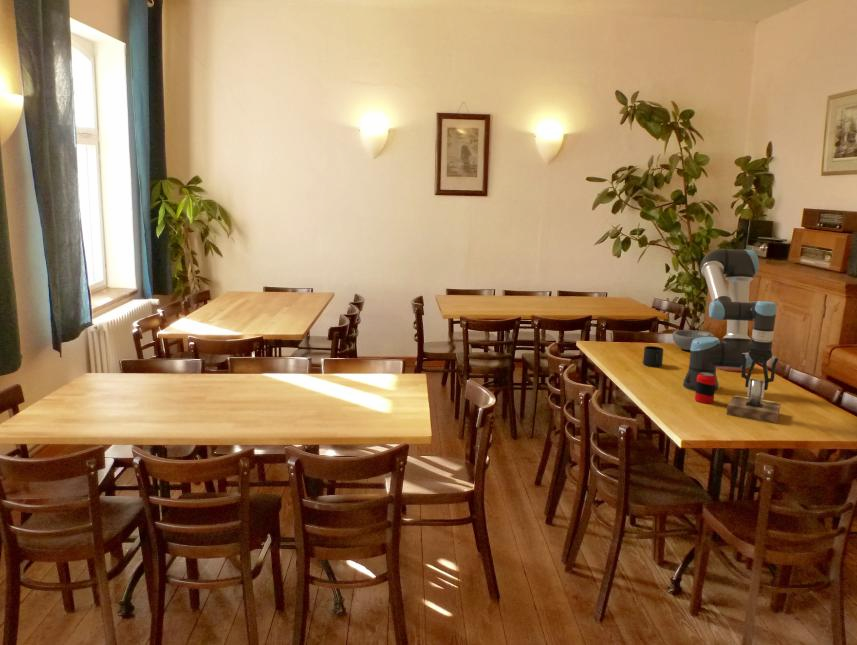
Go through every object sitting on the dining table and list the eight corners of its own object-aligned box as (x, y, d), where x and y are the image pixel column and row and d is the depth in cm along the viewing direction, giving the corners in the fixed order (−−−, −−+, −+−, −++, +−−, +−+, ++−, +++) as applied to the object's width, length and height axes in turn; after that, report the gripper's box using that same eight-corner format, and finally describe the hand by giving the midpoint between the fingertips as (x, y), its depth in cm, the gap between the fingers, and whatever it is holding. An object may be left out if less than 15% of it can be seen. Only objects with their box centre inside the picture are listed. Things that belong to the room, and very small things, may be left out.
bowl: (667, 344, 393) (669, 328, 391) (706, 346, 390) (708, 329, 388) (676, 353, 371) (677, 336, 369) (718, 355, 368) (720, 338, 366)
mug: (647, 368, 337) (648, 351, 335) (640, 362, 349) (642, 345, 347) (665, 368, 337) (667, 351, 335) (658, 363, 348) (660, 346, 347)
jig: (726, 414, 268) (728, 403, 267) (731, 405, 279) (732, 394, 278) (776, 423, 258) (777, 411, 257) (779, 413, 270) (780, 402, 269)
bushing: (747, 404, 267) (750, 380, 265) (749, 401, 271) (751, 378, 269) (759, 406, 265) (762, 382, 263) (760, 403, 269) (763, 379, 267)
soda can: (692, 398, 289) (694, 371, 286) (709, 398, 289) (712, 372, 286) (698, 403, 281) (701, 376, 279) (716, 403, 281) (719, 376, 279)
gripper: (737, 338, 264) (730, 394, 269) (785, 344, 255) (778, 402, 260) (739, 335, 270) (733, 390, 275) (787, 341, 261) (780, 397, 266)
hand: (755, 396), depth 267 cm, fingers closed on bushing, 4 cm apart
